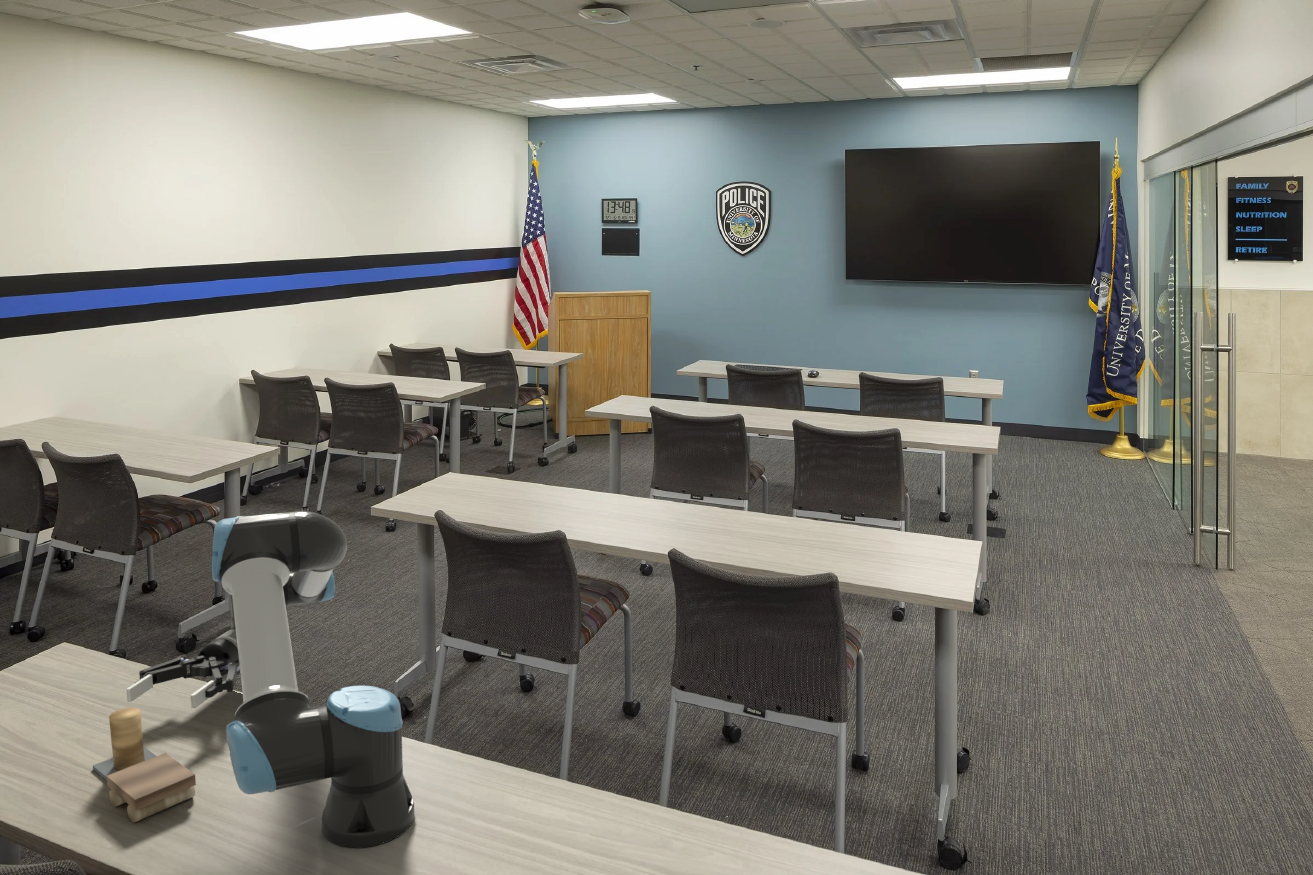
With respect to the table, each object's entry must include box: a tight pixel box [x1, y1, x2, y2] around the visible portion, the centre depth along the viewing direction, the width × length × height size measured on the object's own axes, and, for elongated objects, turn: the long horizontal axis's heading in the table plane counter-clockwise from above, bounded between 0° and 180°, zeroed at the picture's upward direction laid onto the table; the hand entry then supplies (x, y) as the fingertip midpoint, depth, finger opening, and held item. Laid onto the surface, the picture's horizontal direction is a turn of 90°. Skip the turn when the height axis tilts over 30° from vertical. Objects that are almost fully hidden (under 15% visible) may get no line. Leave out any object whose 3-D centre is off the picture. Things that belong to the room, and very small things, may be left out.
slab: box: [106, 752, 197, 824], centre depth 161 cm, size 11×10×5 cm
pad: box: [92, 745, 157, 782], centre depth 172 cm, size 9×9×1 cm
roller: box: [108, 707, 145, 771], centre depth 171 cm, size 5×5×10 cm
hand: (160, 698), depth 180 cm, fingers open, 13 cm apart
